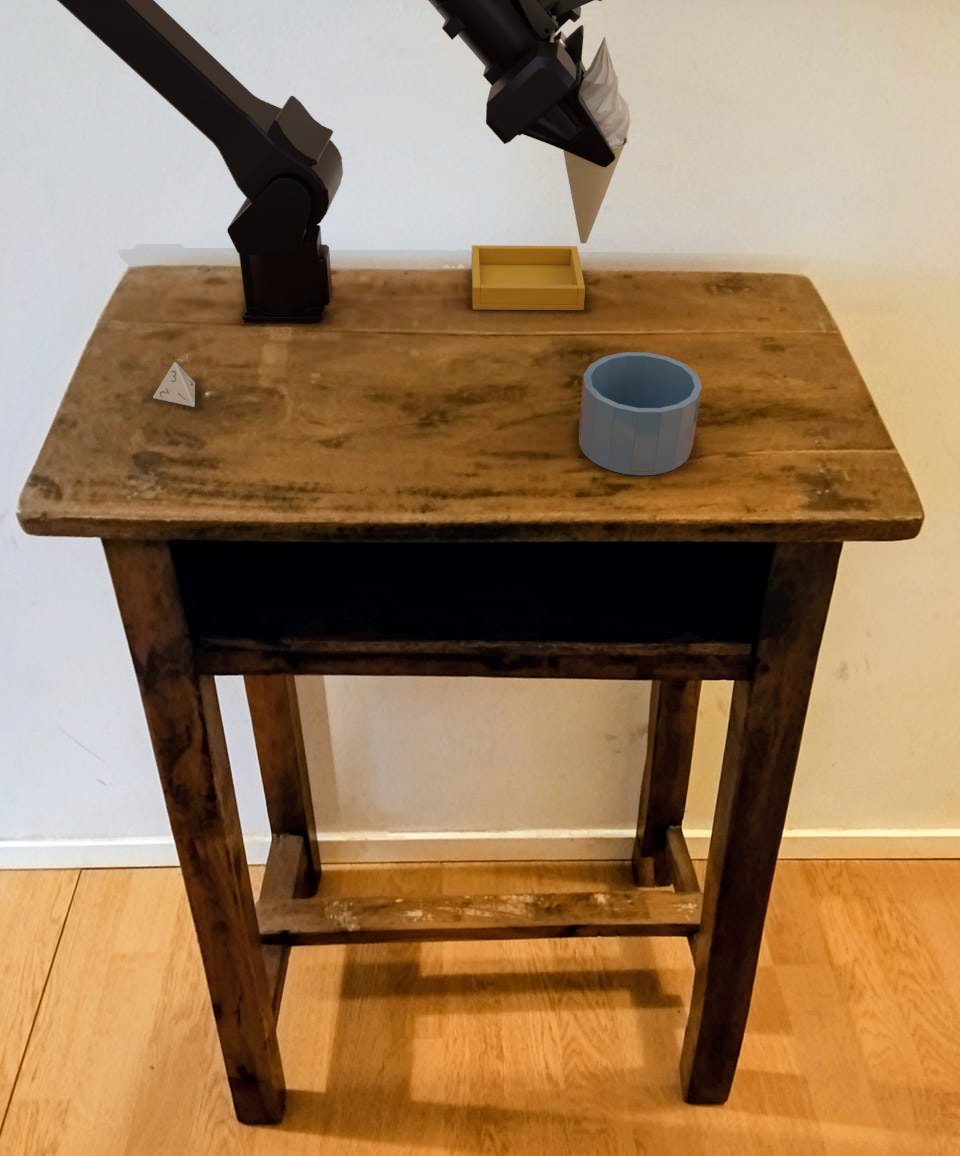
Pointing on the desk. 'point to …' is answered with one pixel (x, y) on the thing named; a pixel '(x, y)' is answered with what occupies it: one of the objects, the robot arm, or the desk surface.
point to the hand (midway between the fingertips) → (610, 149)
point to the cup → (638, 413)
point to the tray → (527, 278)
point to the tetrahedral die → (177, 387)
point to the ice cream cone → (614, 124)
